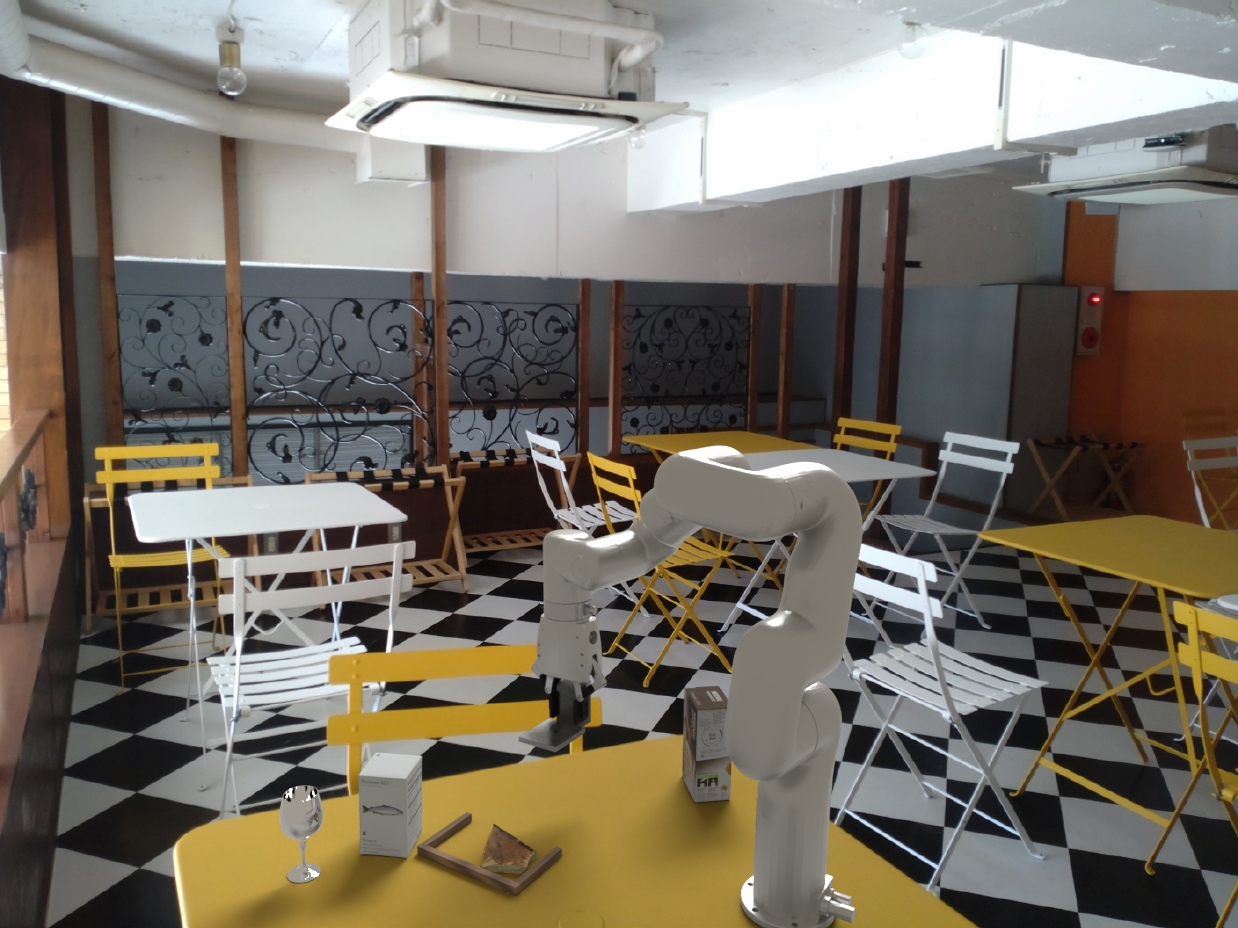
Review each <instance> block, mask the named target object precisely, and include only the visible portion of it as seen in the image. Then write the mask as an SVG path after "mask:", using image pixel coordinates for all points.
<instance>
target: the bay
mask: <svg viewBox="0 0 1238 928" xmlns="http://www.w3.org/2000/svg"><path fill="white" fill-rule="evenodd" d="M472 821H473V814H472V813H471V812H468V811H466V812H465V813H463V814H462V815H460V816H459V817H458V818H456V819H454V820H453V821H451V822H450V823H449V824H447V825H446V826H444V827H443V828H441V829H440V830H438V831H437V832H435V833H434V834H433V835H431V836H429V838H426V839H425V840H424V841H422V842H421V843H420V844H418V845H417V846H416V854H417V855H420V856H422V857H424V858H426V859H428V860H431V861H434V862H436V863H438V864H440V865H442V866H445V867H447V868H450V869H451V870H455V871H457V872H459V873H461V874H463V875H466V876H469V877H471V878H473V879H476V880H478V881H480V882H482V883H485V884H487V885H490V886H491V887H494V888H496V889H499V890H500V891H504V892H505V893H509V894H510V895H512V896H515V897H516V896H517V895H518V894H520V893H521V892H522V891H523V890H524V889H525V888H526V887H528V886H529V885H530V884H531V883H533V882H534V881H535V880H536V879H537V878H538V877H539V876H540V875H542V874H543V873H544V872H545V871H547V869H549V868H550V867H551V866H552V865H553V864H554V863H556V862H557V861H558V860H559V859H560V858H561V857H563V848H562V847H560V846H557V845H556V846H555V847H553V849H552V850H550V851H549V852H548V853H546V854H544V856H543V857H542V858H540V859H539V860H538V861H537V862H536V863H535V864H534V865H531V867H530V868H529V869H528V870H525V871H524V873H522V874H521V876H519V877H518V878H517V879H516V880H511V879H510V878H507V877H504V876H502V875H500V874H498V873H496V872H490V871H488V870H486V869H483V868H482V867H481V866H478V865H476V864H473V863H471V862H469V861H466V860H464V859H462V858H459V857H457V856H454V855H452V854H449V853H447V852H445V851H442V850H440V849H438V848H436V847H437V846H439V845H440V844H441V843H443V842H444V841H446V840H447V839H449V838H450V837H452V836H453V835H454V834H456V833H457V832H459V831H460V830H461V829H462V828H464V827H465V826H467V825H469V824H470V823H471V822H472Z"/></svg>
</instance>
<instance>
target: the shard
mask: <svg viewBox="0 0 1238 928" xmlns="http://www.w3.org/2000/svg"><path fill="white" fill-rule="evenodd" d="M537 856H538V852H537V851H536V850H535V849H533V848H532V847H531V846H529V845H527V844H525V842H524V841H522V840H520V839H519V838H518V837H516V836H514V835H513V834H511V833H510V832H507V831H506V830H504V829H502V827H500V826H498V825H497V824H496V823H493V825H492V828H491V830H490V836H489V838H488V840H487V842H486V845H485V846H484V851H483V855H482V861H481V865H480V867H481V868H483V869H486V870H488V871H490V872H493V873H505V874H517V875H522V874H523V872H524V873H525V872H526V871H527V870H526V869H527V867H528V864H529V863H531V862H532V861H533V860H535V859H536V858H537Z"/></svg>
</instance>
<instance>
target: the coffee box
mask: <svg viewBox="0 0 1238 928" xmlns="http://www.w3.org/2000/svg"><path fill="white" fill-rule="evenodd" d="M683 690H684V691H683V692H684V694H683V695H684V696H683V697H684V698H683V730H682V731H683V735H682V736H683V738H682V739H683V740H682V769H681V770H682V773H681V774H682V775H681V777H682V780H683V781H684V783H685V785H686V787H687V790H688V792H689V794H690V796H691V798H692V800H693V802H694V803H702V802H703V803H704V802H715V801H716V802H718V801H728V800H730V799H731V791H732V790H731V785H732V784H731V783H732V764H733V762H732V761H731V759H730V756H729V754H728V751H727V748H726V743H725V719H726V711H727V704H728V697H727V696H726V694H725V693H724V692H723V690H722V689H721V687H720V686H719V685H709V686H707V685H706V686H704V685H703V686H696V687H686V688H684V689H683Z"/></svg>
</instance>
